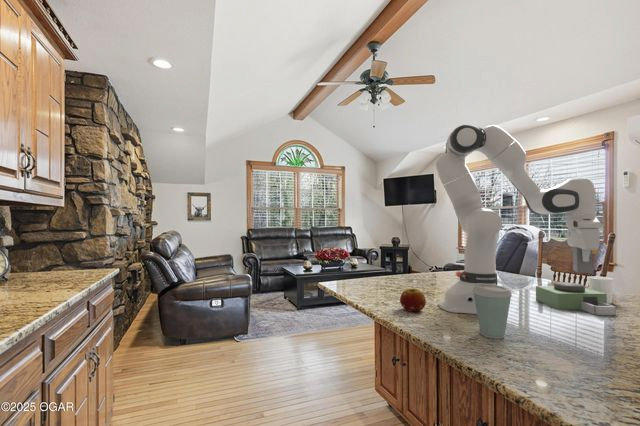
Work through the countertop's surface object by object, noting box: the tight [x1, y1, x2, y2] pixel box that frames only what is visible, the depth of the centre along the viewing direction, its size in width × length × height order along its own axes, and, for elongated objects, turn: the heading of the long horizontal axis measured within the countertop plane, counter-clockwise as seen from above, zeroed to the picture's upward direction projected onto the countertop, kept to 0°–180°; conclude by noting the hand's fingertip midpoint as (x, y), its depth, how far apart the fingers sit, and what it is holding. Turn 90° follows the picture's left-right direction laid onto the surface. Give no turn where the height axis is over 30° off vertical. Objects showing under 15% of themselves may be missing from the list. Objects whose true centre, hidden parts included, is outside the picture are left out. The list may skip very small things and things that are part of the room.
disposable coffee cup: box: [473, 283, 513, 340], centre depth 97 cm, size 11×11×15 cm
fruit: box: [399, 288, 427, 313], centre depth 125 cm, size 10×9×8 cm
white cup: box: [587, 275, 614, 305], centre depth 135 cm, size 8×8×10 cm
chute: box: [571, 246, 599, 274], centre depth 117 cm, size 6×4×9 cm
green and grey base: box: [535, 281, 617, 316], centre depth 128 cm, size 18×21×8 cm
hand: (582, 260), depth 118 cm, fingers closed on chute, 4 cm apart
